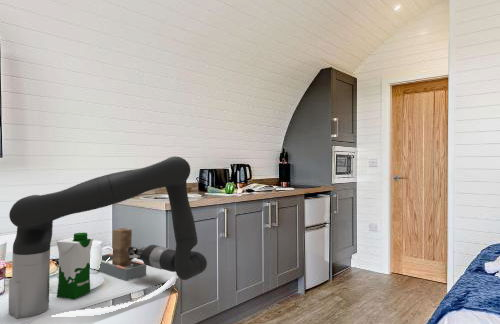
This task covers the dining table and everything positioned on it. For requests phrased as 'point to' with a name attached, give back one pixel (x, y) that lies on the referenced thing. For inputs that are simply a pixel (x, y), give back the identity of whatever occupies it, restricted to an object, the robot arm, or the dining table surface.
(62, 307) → the dining table surface
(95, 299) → the dining table surface
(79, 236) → the milk carton
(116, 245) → the walnut block
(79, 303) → the dining table surface
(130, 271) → the tray
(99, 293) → the dining table surface
